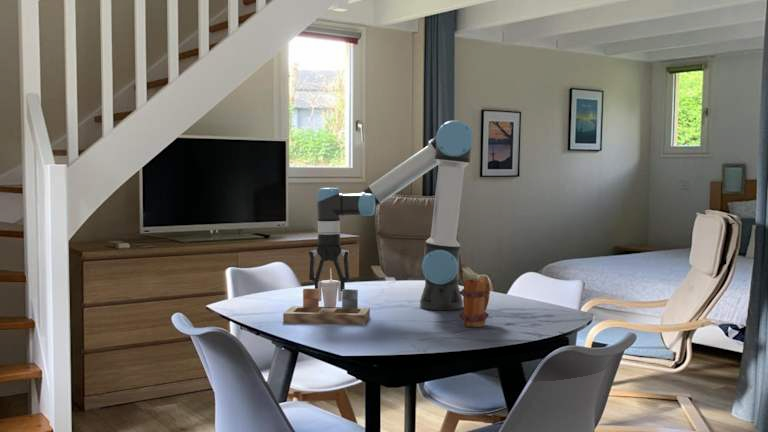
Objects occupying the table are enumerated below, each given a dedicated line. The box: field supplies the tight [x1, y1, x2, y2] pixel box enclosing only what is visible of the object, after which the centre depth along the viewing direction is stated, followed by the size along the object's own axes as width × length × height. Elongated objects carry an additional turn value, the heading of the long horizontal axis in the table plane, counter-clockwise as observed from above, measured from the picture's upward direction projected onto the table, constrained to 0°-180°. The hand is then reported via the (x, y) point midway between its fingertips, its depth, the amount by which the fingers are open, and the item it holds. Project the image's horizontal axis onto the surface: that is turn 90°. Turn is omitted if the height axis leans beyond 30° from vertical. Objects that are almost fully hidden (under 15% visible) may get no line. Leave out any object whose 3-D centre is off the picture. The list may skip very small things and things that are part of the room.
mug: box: [458, 275, 491, 328], centre depth 249 cm, size 15×8×15 cm, turn 148°
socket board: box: [282, 288, 371, 325], centre depth 256 cm, size 26×13×9 cm, turn 84°
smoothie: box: [319, 267, 340, 307], centre depth 271 cm, size 6×6×14 cm
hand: (329, 300), depth 271 cm, fingers closed on smoothie, 6 cm apart
